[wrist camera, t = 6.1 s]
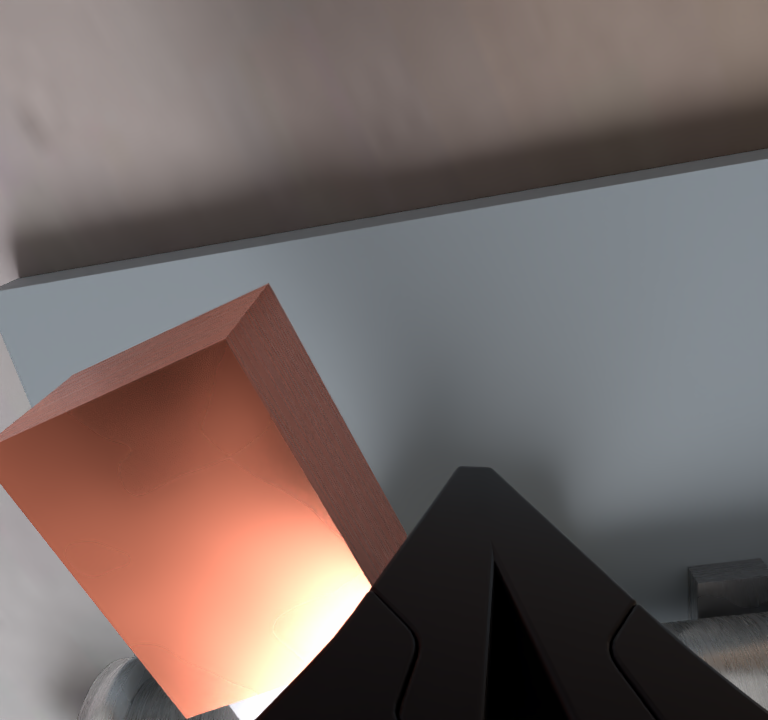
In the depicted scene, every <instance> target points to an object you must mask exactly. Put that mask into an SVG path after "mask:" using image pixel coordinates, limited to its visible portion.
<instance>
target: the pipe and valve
mask: <svg viewBox="0 0 768 720" xmlns="http://www.w3.org/2000/svg"><path fill="white" fill-rule="evenodd" d="M661 624H662V625H663V626H665V627H666V628H667V629H668V630H669V631H670V632H671V633H673V634H674V635H675V636H676V637H677V638H678V639H679V640H681V641H682V642H683V643H684V644H685V645H686V646H687V647H689V648H690V649H691V650H692V651H693V652H694V653H695V654H697V655H698V656H699V657H700V658H702V659H703V660H704V661H705V662H706V663H708V664H709V665H710V666H711V667H713V668H714V669H715V670H716V671H718V672H719V673H720V674H721V675H723V676H724V677H725V678H726V679H728V680H729V681H730V682H731V683H733V684H734V685H735V686H736V687H738V688H739V689H740V690H741V691H743V692H744V693H745V694H747V695H748V696H749V697H751V698H752V699H753V700H754V701H756V702H757V703H758V704H760V705H761V706H762V707H764V708H765V709H766V710H767V711H768V567H767V566H766V565H765V563H764V562H763V561H762V559H761V558H757V559H749V560H740V561H731V562H722V563H714V564H705V565H696V566H688V620H684V621H675V622H665V623H661ZM77 720H240V719H239V718H238V717H237V715H236V714H235V713H234V711H233V710H232V709H231V707H230V706H229V705H226V706H223V707H220V708H217V709H214V710H211V711H208V712H205V713H202V714H199V715H196V716H193V717H190V718H187V719H186V718H185V717H184V716H183V714H182V713H181V712H180V710H179V709H178V708H177V707H176V705H175V704H174V703H173V702H172V700H171V699H170V698H169V697H168V695H167V694H166V693H165V691H164V690H163V689H162V688H161V686H160V685H159V684H158V683H157V681H156V680H155V679H154V678H153V676H152V675H151V674H150V673H149V671H148V670H147V669H146V667H145V666H144V665H143V664H142V662H141V661H140V660H139V659H138V657H133V658H124V659H119V660H116V661H114V662H112V663H111V664H109V665H108V666H107V667H106V668H105V669H104V670H103V671H102V672H101V673H100V674H99V675H98V677H97V678H96V679H95V681H94V682H93V684H92V686H91V687H90V689H89V691H88V693H87V695H86V697H85V699H84V702H83V704H82V707H81V709H80V712H79V715H78V718H77Z"/></svg>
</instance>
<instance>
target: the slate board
mask: <svg viewBox="0 0 768 720" xmlns="http://www.w3.org/2000/svg"><path fill="white" fill-rule="evenodd" d="M268 283H269V284H270V286H271V288H272V290H273V291H274V293H275V295H276V297H277V299H278V301H279V302H280V304H281V306H282V308H283V310H284V311H285V313H286V315H287V317H288V319H289V321H290V322H291V324H292V326H293V328H294V330H295V332H296V333H297V335H298V337H299V339H300V341H301V342H302V344H303V346H304V348H305V350H306V352H307V353H308V355H309V357H310V359H311V361H312V363H313V364H314V366H315V368H316V370H317V372H318V373H319V375H320V377H321V379H322V381H323V383H324V384H325V386H326V388H327V390H328V392H329V394H330V395H331V397H332V399H333V401H334V403H335V404H336V406H337V408H338V410H339V412H340V414H341V415H342V417H343V419H344V421H345V423H346V425H347V426H348V428H349V430H350V432H351V434H352V436H353V437H354V439H355V441H356V443H357V445H358V446H359V448H360V450H361V452H362V454H363V456H364V457H365V459H366V461H367V463H368V465H369V467H370V468H371V470H372V472H373V474H374V476H375V477H376V479H377V481H378V483H379V485H380V487H381V488H382V490H383V492H384V494H385V496H386V498H387V499H388V501H389V503H390V505H391V507H392V508H393V510H394V512H395V514H396V516H397V518H398V519H399V521H400V523H401V525H402V527H403V529H404V530H405V532H406V534H407V537H408V535H409V534H410V532H411V531H412V530H413V528H414V527H415V526H416V524H417V523H418V521H419V520H420V519H421V517H422V516H423V514H424V513H425V512H426V510H427V509H428V507H429V506H430V505H431V503H432V502H433V500H434V499H435V498H436V496H437V495H438V494H439V492H440V491H441V489H442V488H443V487H444V485H445V484H446V482H447V481H448V480H449V478H450V477H451V475H452V474H453V473H454V471H455V470H456V469H457V468H458V467H459V466H478V467H491V468H492V469H494V470H495V471H496V472H497V473H498V474H499V475H500V476H501V477H503V478H504V479H505V480H506V481H507V482H508V483H509V484H510V485H511V486H512V487H513V488H514V489H516V490H517V491H518V492H519V493H520V494H521V495H522V496H523V497H524V498H525V499H526V500H528V501H529V502H530V503H531V504H532V505H533V506H534V507H535V508H536V509H537V510H538V511H539V512H541V513H542V514H543V515H544V516H545V517H546V518H547V519H548V520H549V521H550V522H551V523H552V524H554V525H555V526H556V527H557V528H558V529H559V530H560V531H561V532H562V533H563V534H564V535H565V536H567V537H568V538H569V539H570V540H571V541H572V542H573V543H574V544H575V545H576V546H577V547H578V548H580V549H581V550H582V551H583V552H584V553H585V554H586V555H587V556H588V557H589V558H590V559H591V560H593V561H594V562H595V563H596V564H597V565H598V566H599V567H600V568H601V569H602V570H603V571H604V572H606V573H607V574H608V575H609V576H610V577H611V578H612V579H613V580H614V581H615V582H616V583H618V584H619V585H620V586H621V587H622V588H623V589H624V590H625V591H626V592H627V593H628V594H629V595H631V596H632V597H633V598H634V599H635V600H636V602H637V604H640V605H642V606H643V607H644V608H645V609H646V610H647V611H648V612H649V613H650V614H651V615H653V616H654V617H655V618H656V619H657V620H658V621H659V622H660V623H665V622H675V621H684V620H688V566H696V565H705V564H714V563H722V562H731V561H740V560H749V559H757V558H761V559H762V561H763V562H764V563H765V565H766V566H767V567H768V148H767V149H761V150H756V151H750V152H744V153H738V154H733V155H727V156H721V157H715V158H710V159H704V160H698V161H692V162H686V163H681V164H675V165H669V166H663V167H658V168H652V169H646V170H640V171H635V172H629V173H623V174H617V175H612V176H606V177H600V178H594V179H589V180H583V181H577V182H571V183H565V184H560V185H554V186H548V187H542V188H537V189H531V190H525V191H519V192H514V193H508V194H502V195H496V196H491V197H485V198H479V199H473V200H468V201H462V202H456V203H450V204H444V205H439V206H433V207H427V208H421V209H416V210H410V211H404V212H398V213H393V214H387V215H381V216H375V217H370V218H364V219H358V220H352V221H347V222H341V223H335V224H329V225H323V226H318V227H312V228H306V229H300V230H295V231H289V232H283V233H277V234H272V235H266V236H260V237H254V238H249V239H243V240H237V241H231V242H226V243H220V244H214V245H208V246H202V247H197V248H191V249H185V250H179V251H174V252H168V253H162V254H156V255H151V256H145V257H139V258H133V259H128V260H122V261H116V262H110V263H105V264H99V265H93V266H87V267H81V268H76V269H70V270H64V271H58V272H53V273H47V274H41V275H35V276H30V277H24V278H18V279H16V280H14V281H11V282H9V283H7V284H5V285H2V286H0V333H1V335H2V338H3V340H4V342H5V345H6V347H7V350H8V352H9V354H10V357H11V359H12V362H13V364H14V366H15V369H16V371H17V374H18V376H19V378H20V381H21V383H22V386H23V388H24V390H25V393H26V395H27V398H28V400H29V402H30V405H31V407H34V406H35V405H36V404H37V403H39V402H40V401H41V400H42V399H44V398H45V397H46V396H47V395H49V394H50V393H51V392H52V391H54V390H55V389H56V388H57V387H58V386H60V385H61V384H62V383H63V382H65V381H66V380H67V379H68V378H70V377H71V376H72V375H74V374H76V373H78V372H80V371H82V370H84V369H86V368H89V367H91V366H93V365H95V364H97V363H99V362H101V361H104V360H106V359H108V358H110V357H112V356H114V355H116V354H118V353H121V352H123V351H125V350H127V349H129V348H131V347H133V346H136V345H138V344H140V343H142V342H144V341H146V340H148V339H150V338H153V337H155V336H157V335H159V334H161V333H163V332H165V331H167V330H170V329H172V328H174V327H176V326H178V325H180V324H182V323H185V322H187V321H189V320H191V319H193V318H195V317H197V316H199V315H202V314H204V313H206V312H208V311H210V310H212V309H214V308H217V307H219V306H221V305H223V304H225V303H227V302H229V301H231V300H234V299H236V298H238V297H240V296H242V295H244V294H246V293H249V292H251V291H253V290H255V289H257V288H259V287H261V286H263V285H266V284H268ZM134 655H135V654H134ZM135 657H137V656H136V655H135Z"/></svg>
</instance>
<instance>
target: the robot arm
mask: <svg viewBox="0 0 768 720" xmlns="http://www.w3.org/2000/svg"><path fill="white" fill-rule="evenodd" d="M255 720H768V711H767V710H766V709H765V708H764V707H762V706H761V705H760V704H758V703H757V702H756V701H754V700H753V699H752V698H751V697H749V696H748V695H747V694H745V693H744V692H743V691H741V690H740V689H739V688H738V687H736V686H735V685H734V684H733V683H731V682H730V681H729V680H728V679H726V678H725V677H724V676H723V675H721V674H720V673H719V672H718V671H716V670H715V669H714V668H713V667H711V666H710V665H709V664H708V663H706V662H705V661H704V660H703V659H702V658H700V657H699V656H698V655H697V654H695V653H694V652H693V651H692V650H691V649H690V648H689V647H687V646H686V645H685V644H684V643H683V642H682V641H681V640H679V639H678V638H677V637H676V636H675V635H674V634H673V633H671V632H670V631H669V630H668V629H667V628H666V627H665V626H663V625H662V624H661V623H660V622H659V621H658V620H657V619H656V618H655V617H654V616H653V615H651V614H650V613H649V612H648V611H647V610H646V609H645V608H644V607H643V606H642V605H640V604H637V602H636V600H635V599H634V598H633V597H632V596H631V595H629V594H628V593H627V592H626V591H625V590H624V589H623V588H622V587H621V586H620V585H619V584H618V583H616V582H615V581H614V580H613V579H612V578H611V577H610V576H609V575H608V574H607V573H606V572H604V571H603V570H602V569H601V568H600V567H599V566H598V565H597V564H596V563H595V562H594V561H593V560H591V559H590V558H589V557H588V556H587V555H586V554H585V553H584V552H583V551H582V550H581V549H580V548H578V547H577V546H576V545H575V544H574V543H573V542H572V541H571V540H570V539H569V538H568V537H567V536H565V535H564V534H563V533H562V532H561V531H560V530H559V529H558V528H557V527H556V526H555V525H554V524H552V523H551V522H550V521H549V520H548V519H547V518H546V517H545V516H544V515H543V514H542V513H541V512H539V511H538V510H537V509H536V508H535V507H534V506H533V505H532V504H531V503H530V502H529V501H528V500H526V499H525V498H524V497H523V496H522V495H521V494H520V493H519V492H518V491H517V490H516V489H514V488H513V487H512V486H511V485H510V484H509V483H508V482H507V481H506V480H505V479H504V478H503V477H501V476H500V475H499V474H498V473H497V472H496V471H495V470H494V469H492V468H491V467H478V466H459V467H458V468H457V469H456V470H455V471H454V473H453V474H452V475H451V477H450V478H449V480H448V481H447V482H446V484H445V485H444V487H443V488H442V489H441V491H440V492H439V494H438V495H437V496H436V498H435V499H434V500H433V502H432V503H431V505H430V506H429V507H428V509H427V510H426V512H425V513H424V514H423V516H422V517H421V519H420V520H419V521H418V523H417V524H416V526H415V527H414V528H413V530H412V531H411V532H410V534H409V535H408V537H407V538H406V539H405V541H404V542H403V544H402V545H401V546H400V548H399V549H398V551H397V552H396V553H395V555H394V556H393V557H392V559H391V560H390V562H389V563H388V564H387V566H386V567H385V569H384V570H383V571H382V573H381V574H380V576H379V577H378V578H377V580H376V581H375V583H374V584H373V585H372V587H371V588H370V591H369V592H367V593H366V595H365V596H364V597H363V599H362V600H361V602H360V603H359V604H358V606H357V607H356V609H355V610H354V611H353V613H352V614H351V615H350V616H349V618H348V619H347V620H346V621H345V623H344V624H343V625H342V627H341V628H340V629H339V630H338V632H337V633H336V634H335V635H334V637H333V638H332V639H331V640H330V641H329V642H328V643H327V645H326V646H325V647H324V648H323V649H322V650H321V651H320V652H319V653H318V654H317V655H316V656H315V658H314V659H313V660H312V661H311V662H310V663H309V664H308V665H307V666H306V667H305V668H304V669H303V671H302V672H301V673H300V674H299V675H298V676H297V677H296V678H295V679H294V680H293V681H292V682H291V683H290V684H289V685H288V686H287V687H286V688H285V689H284V690H283V691H282V692H281V693H280V694H279V695H278V696H277V697H276V698H275V699H274V700H273V701H272V702H271V703H270V704H269V705H268V706H267V707H266V708H265V709H264V710H263V712H262V713H261V714H260V715H259V716H258V717H257V718H256V719H255Z"/></svg>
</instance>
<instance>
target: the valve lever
mask: <svg viewBox="0 0 768 720" xmlns="http://www.w3.org/2000/svg"><path fill="white" fill-rule="evenodd" d="M0 484H1V485H2V486H3V488H4V489H5V490H6V491H7V493H8V494H9V495H10V496H11V498H12V499H13V500H14V502H15V503H16V504H17V505H18V507H19V508H20V509H21V510H22V512H23V513H24V514H25V515H26V517H27V518H28V519H29V521H30V522H31V523H32V524H33V526H34V527H35V528H36V529H37V531H38V532H39V533H40V534H41V536H42V537H43V538H44V540H45V541H46V542H47V543H48V545H49V546H50V547H51V548H52V550H53V551H54V552H55V553H56V555H57V556H58V557H59V559H60V560H61V561H62V562H63V564H64V565H65V566H66V567H67V569H68V570H69V571H70V572H71V574H72V575H73V576H74V578H75V579H76V580H77V581H78V583H79V584H80V585H81V586H82V588H83V589H84V590H85V591H86V593H87V594H88V595H89V597H90V598H91V599H92V600H93V602H94V603H95V604H96V605H97V607H98V608H99V609H100V610H101V612H102V613H103V614H104V616H105V617H106V618H107V619H108V621H109V622H110V623H111V624H112V626H113V627H114V628H115V629H116V631H117V632H118V633H119V635H120V636H121V637H122V638H123V640H124V641H125V642H126V643H127V645H128V646H129V647H130V648H131V650H132V651H133V652H134V654H135V655H136V656H137V657H138V659H139V660H140V661H141V662H142V664H143V665H144V666H145V667H146V669H147V670H148V671H149V673H150V674H151V675H152V676H153V678H154V679H155V680H156V681H157V683H158V684H159V685H160V686H161V688H162V689H163V690H164V691H165V693H166V694H167V695H168V697H169V698H170V699H171V700H172V702H173V703H174V704H175V705H176V707H177V708H178V709H179V710H180V712H181V713H182V714H183V716H184V717H185V718H186V719H187V718H190V717H193V716H196V715H199V714H202V713H205V712H208V711H211V710H214V709H217V708H220V707H223V706H226V705H229V706H230V707H231V709H232V710H233V711H234V713H235V714H236V715H237V717H238V718H239V719H240V720H255V719H256V718H257V717H258V716H259V715H260V714H261V713H262V712H263V710H264V709H265V708H266V707H267V706H268V705H269V704H270V703H271V702H272V701H273V700H274V699H275V698H276V697H277V696H278V695H279V694H280V693H281V692H282V691H283V690H284V689H285V688H286V687H287V686H288V685H289V684H290V683H291V682H292V681H293V680H294V679H295V678H296V677H297V676H298V675H299V674H300V673H301V672H302V671H303V669H304V668H305V667H306V666H307V665H308V664H309V663H310V662H311V661H312V660H313V659H314V658H315V656H316V655H317V654H318V653H319V652H320V651H321V650H322V649H323V648H324V647H325V646H326V645H327V643H328V642H329V641H330V640H331V639H332V638H333V637H334V635H335V634H336V633H337V632H338V630H339V629H340V628H341V627H342V625H343V624H344V623H345V621H346V620H347V619H348V618H349V616H350V615H351V614H352V613H353V611H354V610H355V609H356V607H357V606H358V604H359V603H360V602H361V600H362V599H363V597H364V596H365V595H366V593H367V592H369V591H370V588H371V587H372V585H373V584H374V583H375V581H376V580H377V578H378V577H379V576H380V574H381V573H382V571H383V570H384V569H385V567H386V566H387V564H388V563H389V562H390V560H391V559H392V557H393V556H394V555H395V553H396V552H397V551H398V549H399V548H400V546H401V545H402V544H403V542H404V541H405V539H406V538H407V534H406V532H405V530H404V529H403V527H402V525H401V523H400V521H399V519H398V518H397V516H396V514H395V512H394V510H393V508H392V507H391V505H390V503H389V501H388V499H387V498H386V496H385V494H384V492H383V490H382V488H381V487H380V485H379V483H378V481H377V479H376V477H375V476H374V474H373V472H372V470H371V468H370V467H369V465H368V463H367V461H366V459H365V457H364V456H363V454H362V452H361V450H360V448H359V446H358V445H357V443H356V441H355V439H354V437H353V436H352V434H351V432H350V430H349V428H348V426H347V425H346V423H345V421H344V419H343V417H342V415H341V414H340V412H339V410H338V408H337V406H336V404H335V403H334V401H333V399H332V397H331V395H330V394H329V392H328V390H327V388H326V386H325V384H324V383H323V381H322V379H321V377H320V375H319V373H318V372H317V370H316V368H315V366H314V364H313V363H312V361H311V359H310V357H309V355H308V353H307V352H306V350H305V348H304V346H303V344H302V342H301V341H300V339H299V337H298V335H297V333H296V332H295V330H294V328H293V326H292V324H291V322H290V321H289V319H288V317H287V315H286V313H285V311H284V310H283V308H282V306H281V304H280V302H279V301H278V299H277V297H276V295H275V293H274V291H273V290H272V288H271V286H270V284H269V283H268V284H266V285H263V286H261V287H259V288H257V289H255V290H253V291H251V292H249V293H246V294H244V295H242V296H240V297H238V298H236V299H234V300H231V301H229V302H227V303H225V304H223V305H221V306H219V307H217V308H214V309H212V310H210V311H208V312H206V313H204V314H202V315H199V316H197V317H195V318H193V319H191V320H189V321H187V322H185V323H182V324H180V325H178V326H176V327H174V328H172V329H170V330H167V331H165V332H163V333H161V334H159V335H157V336H155V337H153V338H150V339H148V340H146V341H144V342H142V343H140V344H138V345H136V346H133V347H131V348H129V349H127V350H125V351H123V352H121V353H118V354H116V355H114V356H112V357H110V358H108V359H106V360H104V361H101V362H99V363H97V364H95V365H93V366H91V367H89V368H86V369H84V370H82V371H80V372H78V373H76V374H74V375H72V376H71V377H70V378H68V379H67V380H66V381H65V382H63V383H62V384H61V385H60V386H58V387H57V388H56V389H55V390H54V391H52V392H51V393H50V394H49V395H47V396H46V397H45V398H44V399H42V400H41V401H40V402H39V403H37V404H36V405H35V406H34V407H32V408H31V409H30V410H29V411H27V412H26V413H25V414H24V415H23V416H21V417H20V418H19V419H18V420H16V421H15V422H14V423H13V424H11V425H10V426H9V427H8V428H6V429H5V430H4V431H3V432H1V433H0Z"/></svg>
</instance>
